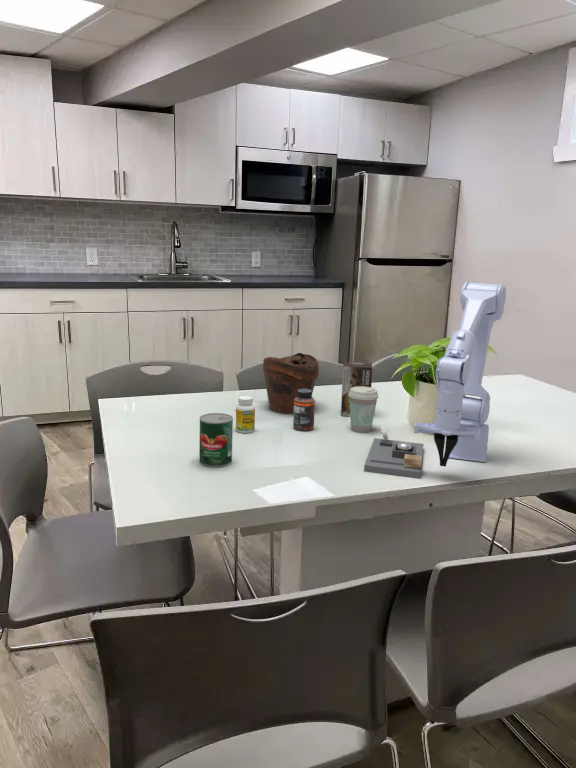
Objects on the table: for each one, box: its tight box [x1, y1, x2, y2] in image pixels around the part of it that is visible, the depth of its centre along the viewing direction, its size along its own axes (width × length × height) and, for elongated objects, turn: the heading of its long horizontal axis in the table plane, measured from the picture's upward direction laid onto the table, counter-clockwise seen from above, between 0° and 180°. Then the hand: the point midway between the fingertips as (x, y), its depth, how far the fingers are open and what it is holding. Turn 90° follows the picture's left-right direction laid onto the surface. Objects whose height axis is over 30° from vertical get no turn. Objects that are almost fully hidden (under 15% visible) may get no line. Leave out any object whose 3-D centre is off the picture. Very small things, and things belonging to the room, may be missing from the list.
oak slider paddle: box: [404, 454, 423, 470], centre depth 140 cm, size 4×3×2 cm
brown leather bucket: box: [262, 352, 320, 415], centre depth 189 cm, size 18×20×18 cm
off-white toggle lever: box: [380, 427, 389, 440], centre depth 154 cm, size 1×1×4 cm
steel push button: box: [397, 440, 412, 452], centre depth 147 cm, size 4×4×2 cm
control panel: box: [363, 437, 424, 479], centre depth 148 cm, size 13×21×3 cm, turn 165°
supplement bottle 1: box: [235, 395, 256, 434], centre depth 165 cm, size 5×5×10 cm
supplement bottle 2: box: [292, 389, 316, 432], centre depth 169 cm, size 6×6×11 cm
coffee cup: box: [349, 386, 379, 434], centre depth 170 cm, size 8×9×12 cm
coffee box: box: [340, 361, 374, 417], centre depth 185 cm, size 9×6×16 cm
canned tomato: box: [198, 412, 234, 468], centre depth 141 cm, size 8×8×11 cm
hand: (442, 464), depth 139 cm, fingers closed
